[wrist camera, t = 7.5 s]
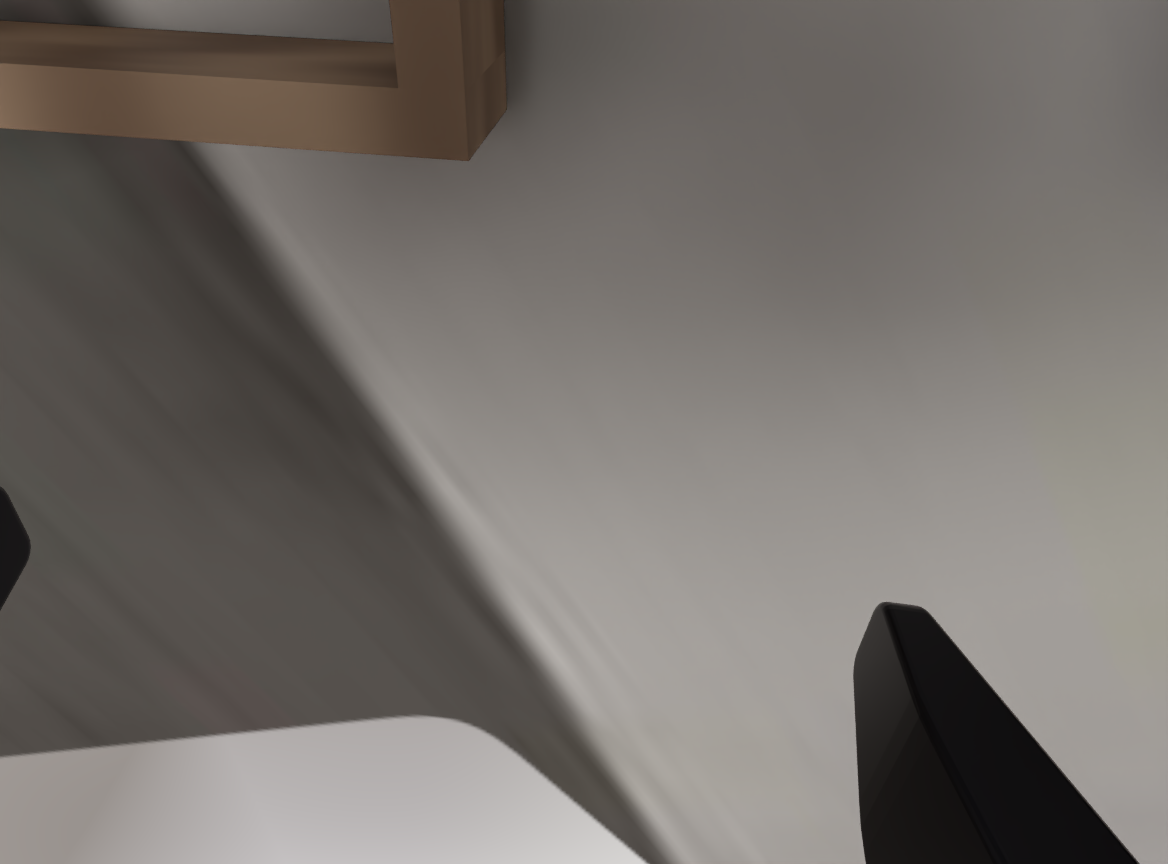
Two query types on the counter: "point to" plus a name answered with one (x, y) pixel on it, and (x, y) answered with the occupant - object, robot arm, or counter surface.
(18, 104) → the walnut frame
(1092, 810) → the robot arm
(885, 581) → the counter surface
